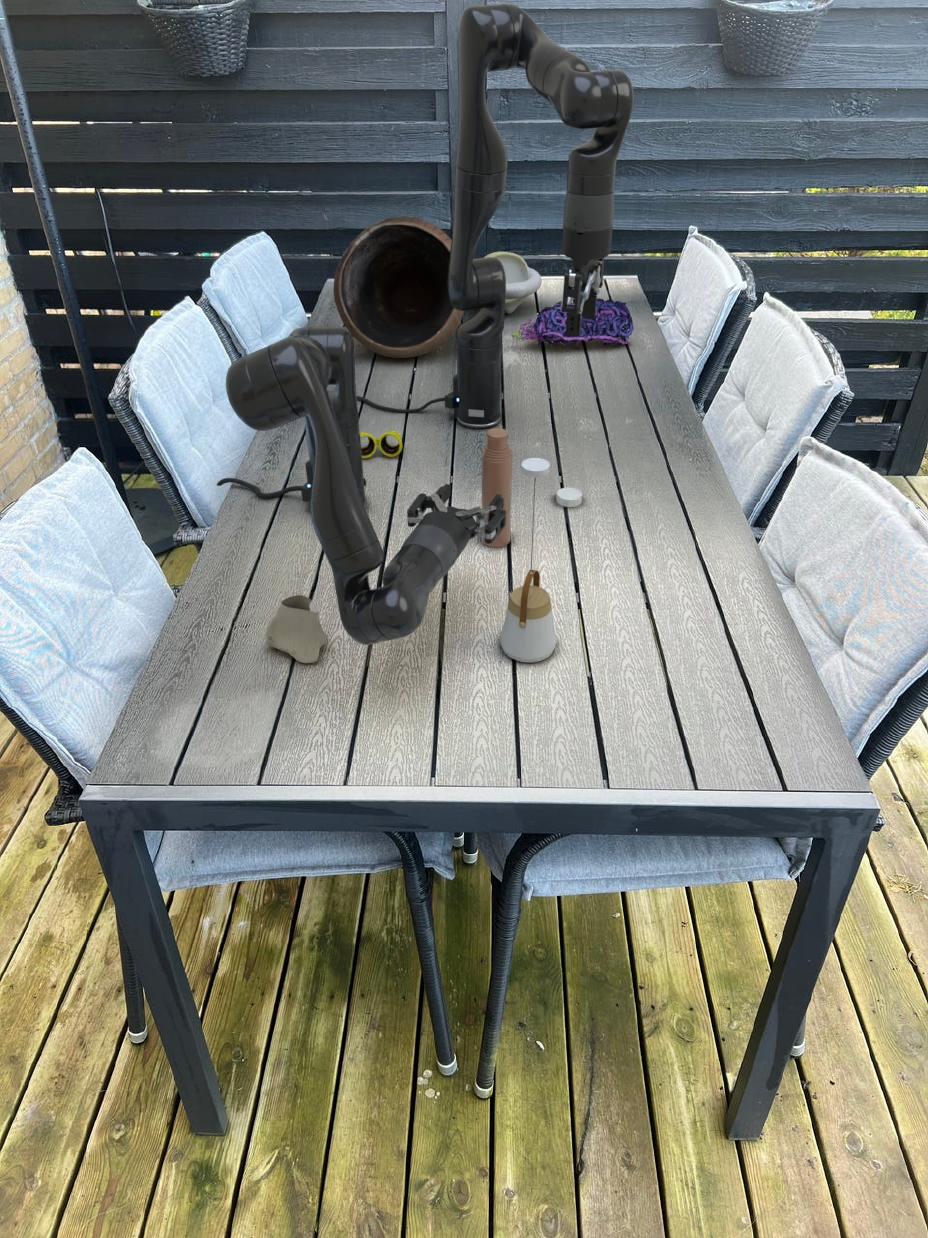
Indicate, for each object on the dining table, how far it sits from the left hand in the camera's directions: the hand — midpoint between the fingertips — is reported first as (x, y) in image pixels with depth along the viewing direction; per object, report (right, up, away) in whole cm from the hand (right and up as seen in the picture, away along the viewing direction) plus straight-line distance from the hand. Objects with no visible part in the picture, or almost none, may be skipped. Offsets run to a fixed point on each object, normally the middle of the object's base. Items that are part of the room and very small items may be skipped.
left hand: (473, 494), depth 145 cm
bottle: (+4, -6, +16) cm, 18 cm away
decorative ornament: (+25, +49, +87) cm, 102 cm away
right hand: (+17, +28, +7) cm, 34 cm away
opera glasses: (-19, +14, +42) cm, 48 cm away
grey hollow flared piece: (-26, -24, -8) cm, 37 cm away
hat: (+8, +65, +108) cm, 126 cm away
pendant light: (+8, -24, -7) cm, 26 cm away
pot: (-16, +51, +90) cm, 105 cm away
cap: (+18, +3, +26) cm, 31 cm away
